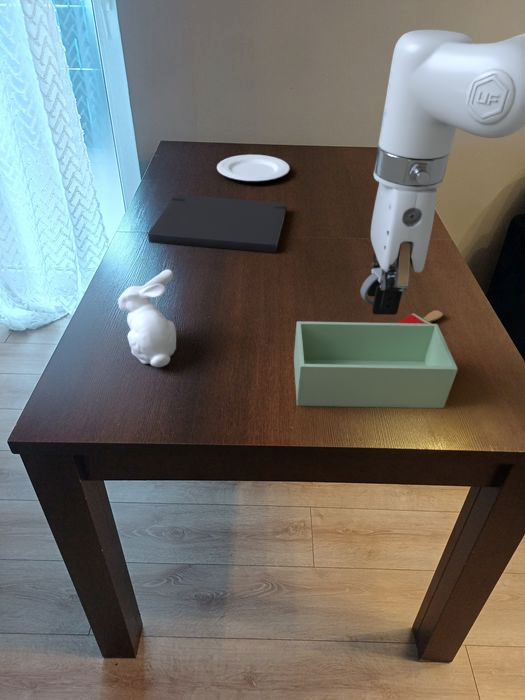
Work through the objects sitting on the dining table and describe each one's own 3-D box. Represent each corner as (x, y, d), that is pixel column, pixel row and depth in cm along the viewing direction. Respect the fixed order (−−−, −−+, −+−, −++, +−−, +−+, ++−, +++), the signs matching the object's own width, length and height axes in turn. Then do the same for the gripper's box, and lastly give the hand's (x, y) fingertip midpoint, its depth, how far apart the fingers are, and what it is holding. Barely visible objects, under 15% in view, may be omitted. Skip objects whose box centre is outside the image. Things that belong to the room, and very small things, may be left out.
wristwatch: (364, 313, 64) (370, 280, 61) (355, 301, 66) (360, 269, 63) (406, 306, 65) (415, 274, 62) (396, 295, 67) (404, 263, 64)
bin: (425, 361, 79) (437, 323, 74) (443, 408, 71) (458, 369, 66) (293, 359, 79) (296, 321, 74) (296, 405, 71) (300, 366, 66)
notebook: (148, 242, 108) (275, 253, 105) (147, 233, 107) (276, 244, 104) (176, 202, 125) (286, 211, 122) (175, 194, 123) (287, 202, 120)
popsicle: (451, 315, 86) (395, 348, 79) (449, 321, 87) (394, 355, 80) (430, 303, 89) (374, 334, 82) (428, 310, 90) (373, 341, 83)
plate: (203, 169, 143) (202, 162, 142) (261, 156, 153) (261, 149, 151) (244, 192, 130) (244, 185, 129) (304, 176, 140) (304, 170, 139)
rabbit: (121, 336, 83) (108, 274, 75) (174, 321, 86) (167, 260, 78) (141, 380, 74) (129, 316, 67) (200, 362, 78) (194, 299, 70)
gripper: (468, 196, 48) (424, 343, 59) (425, 142, 60) (396, 272, 72) (390, 194, 48) (362, 342, 59) (364, 141, 60) (345, 271, 72)
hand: (381, 302), depth 66 cm, fingers closed on wristwatch, 3 cm apart
